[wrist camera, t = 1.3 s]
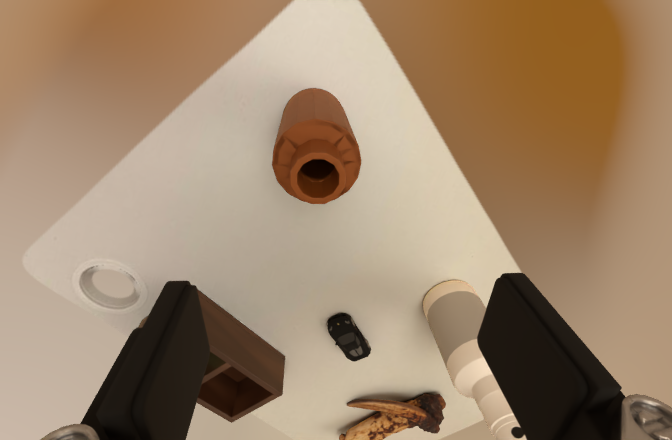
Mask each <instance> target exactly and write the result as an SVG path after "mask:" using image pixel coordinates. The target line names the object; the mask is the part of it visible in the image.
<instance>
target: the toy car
mask: <svg viewBox="0 0 672 440" xmlns="http://www.w3.org/2000/svg"><path fill="white" fill-rule="evenodd" d="M328 331H329V334H330V335H331V337H332V338H333V339H334V340H335V342H336V344H335V345H338V346H339V347H340V348H341V350H342V351H343V352H344V354H345V356H346V357H347V358H348V359H350V360H351V361H357V360H360V359H362V358H365V357H368V355H369V354H370V351H371V348H370V346H369V343H368V341H367V340H366V339H365V338H364V337H363V335H362V333H361V332H360V330H359V329H358V328H357V326H356V324H355V323H354V321H353V319H352V318H351V316H349V315H347V314H338V315H336V316H333V317H332V318H330V319H329V320H328Z"/></svg>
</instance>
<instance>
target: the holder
mask: <svg viewBox="0 0 672 440" xmlns="http://www.w3.org/2000/svg"><path fill="white" fill-rule="evenodd" d="M191 286H192V285H191ZM197 291H198V296H199V300H200V305H201V309H202V314H203V318H204V323H205V327H206V332H207V336H208V341H209V345H210V356H209V360H208V364H207V367H206V371H205V374H204V378H203V381H202V384H201V388H200V391H199V395H198V398H197V403H198V404H200V405H202V406H203V407H205V408H207V409H209V410H211V411H212V412H214V413H216V414H217V415H219V416H221V417H223V418H224V419H226V420H228V421H230V422H234V421H235V420H237V419H239V418H241V417H243V416H244V415H246V414H248V413H250V412H252V411H254V410H255V409H257V408H259V407H261V406H263V405H264V404H266V403H268V402H270V401H272V400H274V399H275V398H277V397H279V396H281V395H282V394H283V379H284V364H285V356H284V355H282V354H281V353H280V352H279V351H277V350H276V349H275V348H273V347H272V346H271V345H269V344H268V343H267V342H265V341H264V340H263V339H262V338H260V337H259V336H258V335H256V334H255V333H254V332H252V331H251V330H250V329H248V328H247V327H246V326H245V325H243V324H242V323H241V322H239V321H238V320H237V319H235V318H234V317H233V316H231V315H230V314H229V313H228V312H226V311H225V310H224V309H222V308H221V307H220V306H218V305H217V304H216V303H214V302H213V301H212V300H211V299H209V298H208V297H207V296H205V295H204V294H203V293H201V292H200V291H199V290H197ZM147 318H148V316H147V317H146V318H144V319H143V320H142V321H141V323H140V325H139V327H138V328H140V327H143V325H144V323H145V321H146V320H147Z"/></svg>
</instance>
